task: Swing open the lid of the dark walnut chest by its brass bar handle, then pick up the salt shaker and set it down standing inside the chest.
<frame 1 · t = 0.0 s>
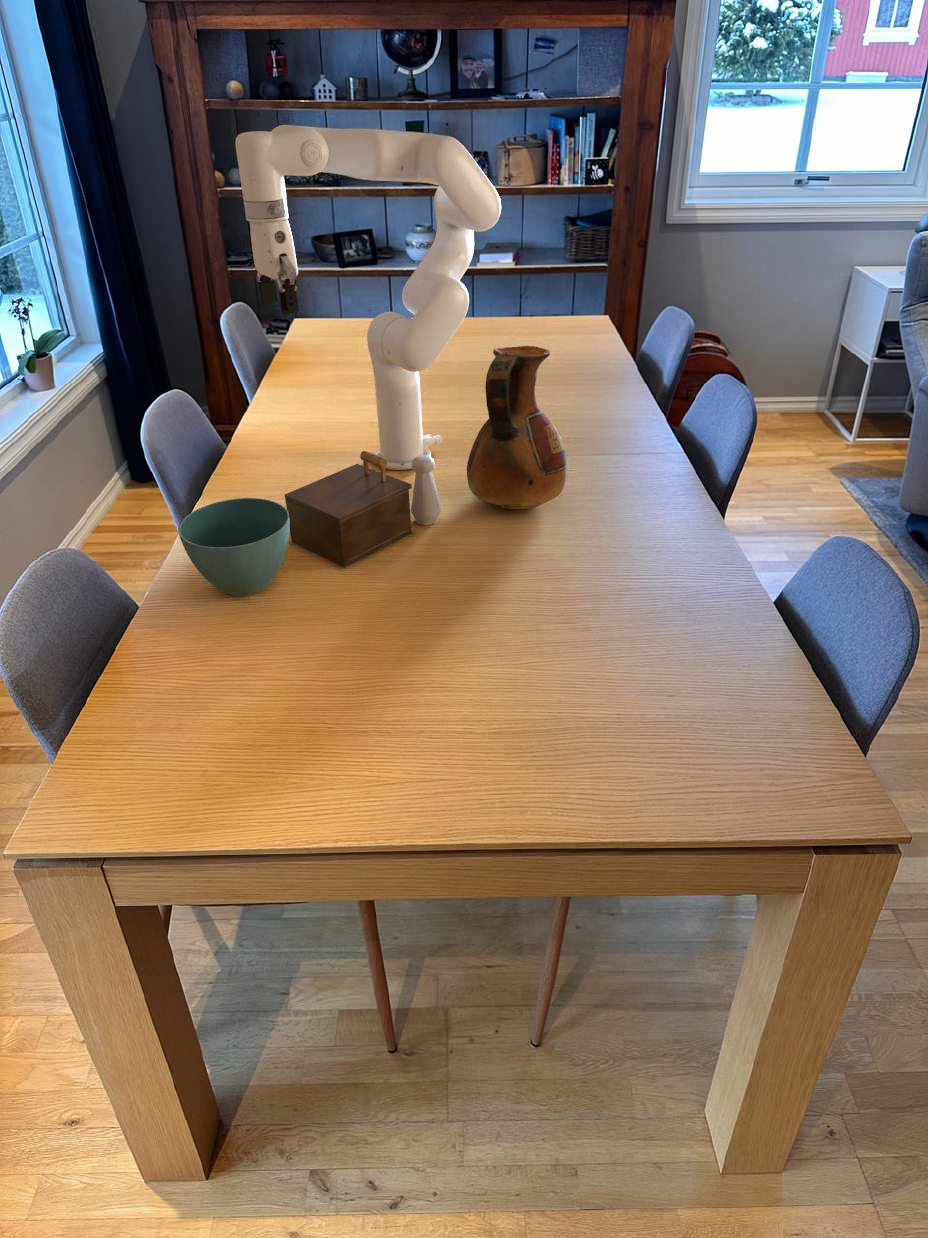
hand: (279, 307, 174), 37 cm above the table, tool pointing down, fingers open, 9 cm apart
chest lid: (347, 479, 168), point 12 cm above the table, hinge at 0.0°
ceramic pitcher: (516, 499, 186), on the table
green bowl: (245, 585, 161), on the table
chest: (351, 537, 174), on the table
salt shaker: (426, 521, 179), on the table
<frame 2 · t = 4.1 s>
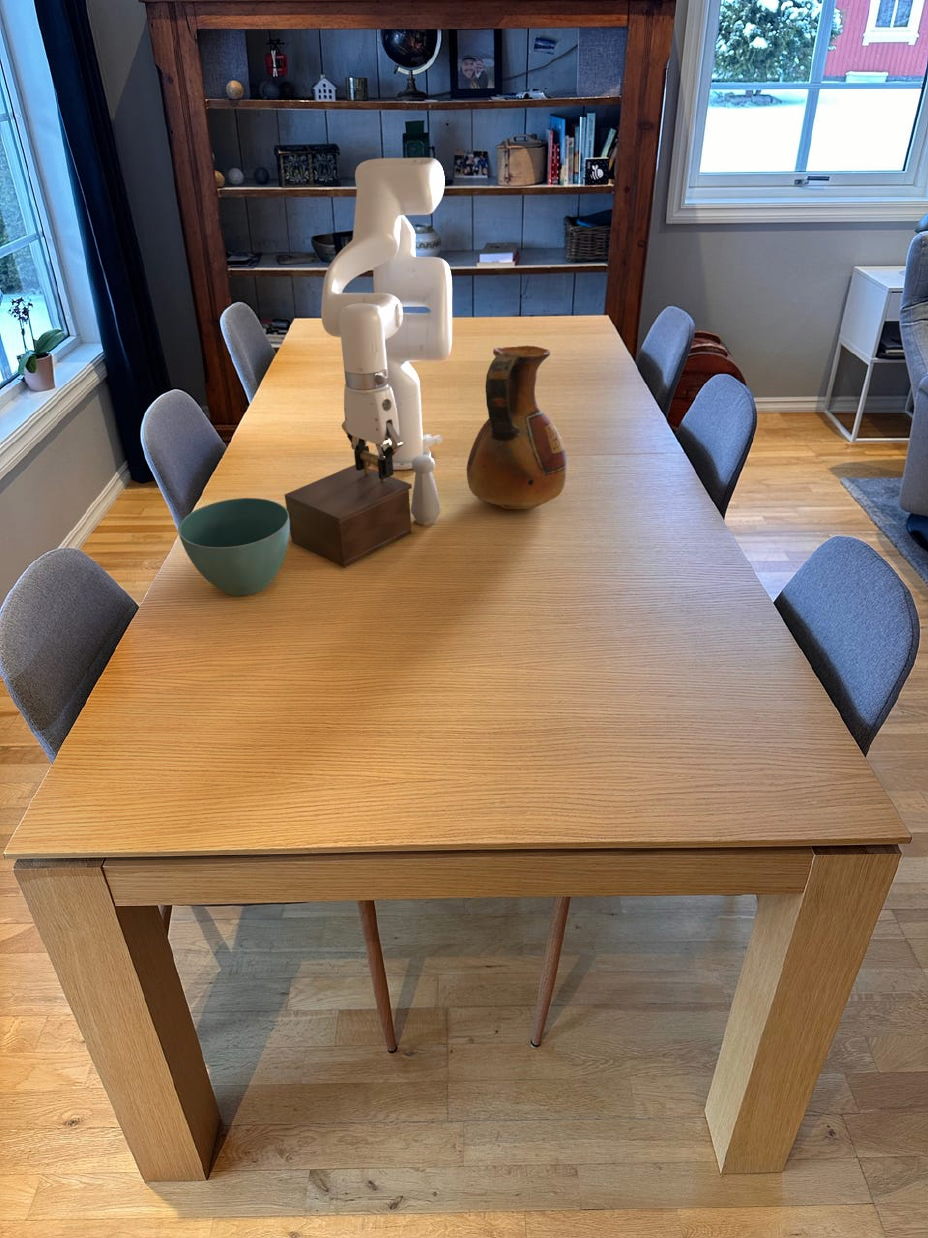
hand: (374, 471, 172), 11 cm above the table, tool pointing down, fingers closed on chest lid, 5 cm apart
chest lid: (347, 479, 168), point 12 cm above the table, hinge at 0.0°, touching gripper
everything else where it was.
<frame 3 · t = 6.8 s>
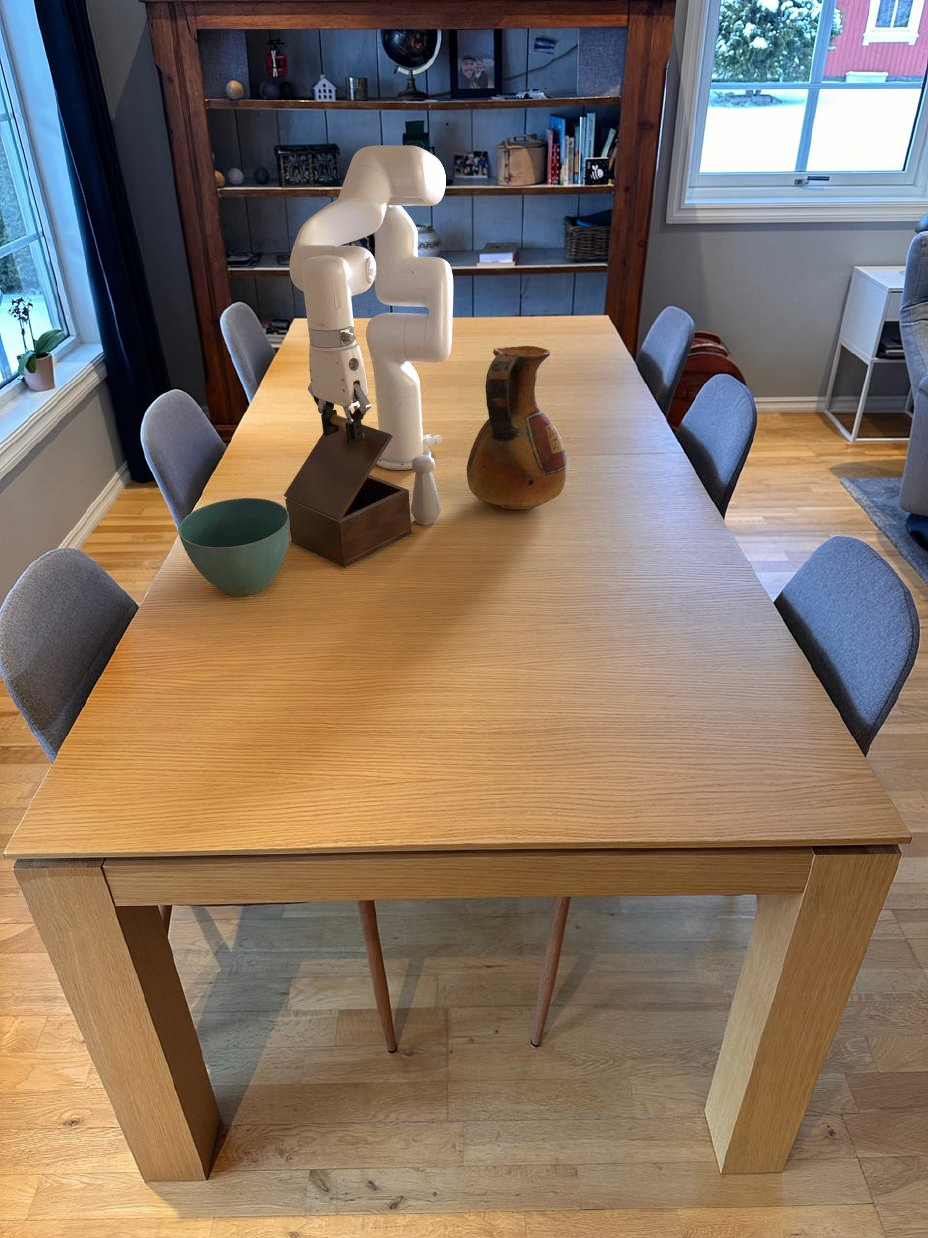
hand: (343, 436, 163), 20 cm above the table, tool pointing down, fingers closed on chest lid, 5 cm apart
chest lid: (330, 459, 163), point 17 cm above the table, hinge at 39.0°, touching gripper
everything else where it was.
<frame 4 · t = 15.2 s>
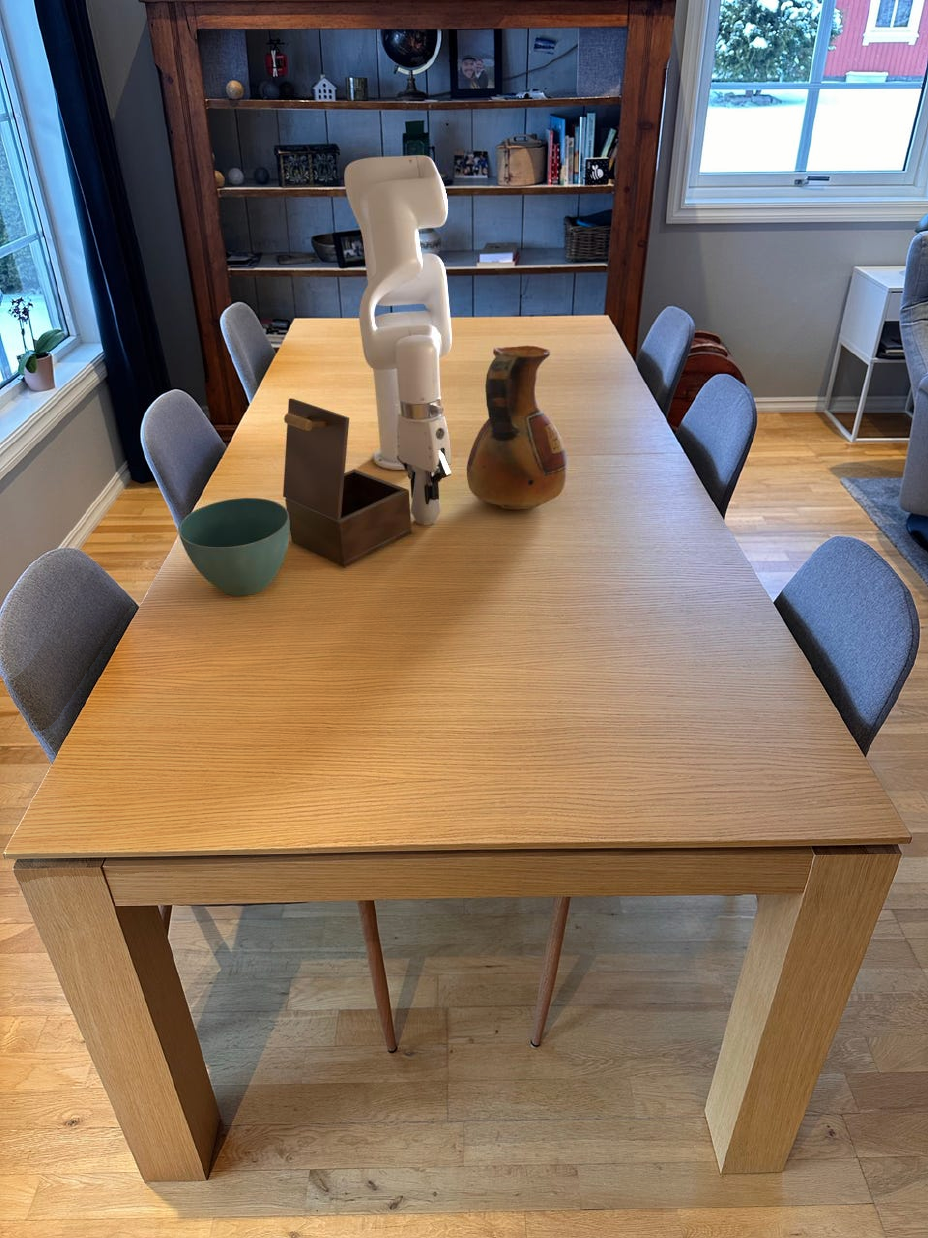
hand: (425, 498, 176), 5 cm above the table, tool pointing down, fingers closed on salt shaker, 3 cm apart
chest lid: (304, 460, 158), point 19 cm above the table, hinge at 76.2°
salt shaker: (426, 521, 179), on the table, touching gripper
everything else where it was.
when the fingers open (6 cm above the table, at t = 21.7 s): salt shaker stays where it is, resting on chest.
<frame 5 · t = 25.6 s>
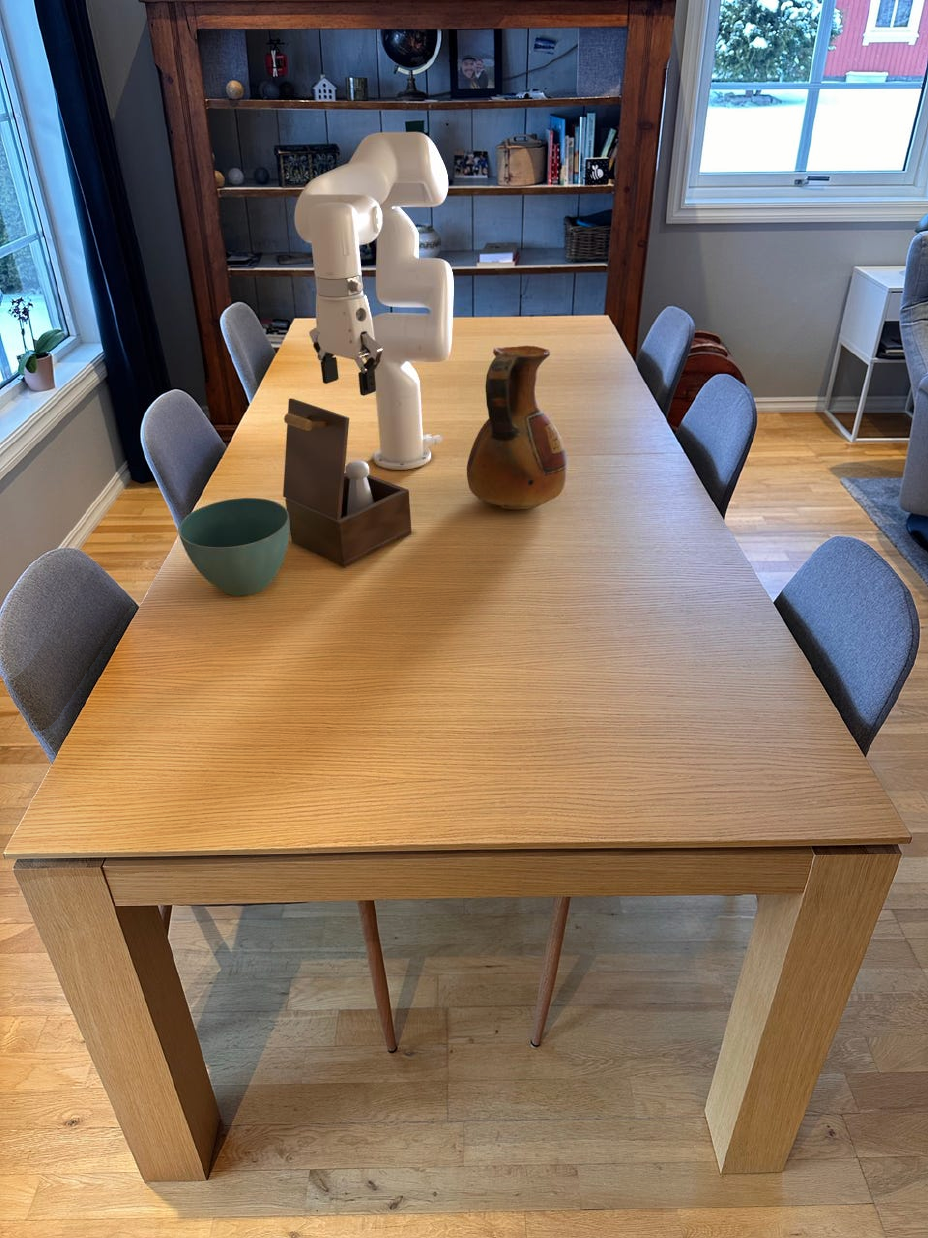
hand: (349, 387, 160), 28 cm above the table, tool pointing down, fingers open, 9 cm apart
salt shaker: (363, 528, 175), point 1 cm above the table, touching chest
everything else where it was.
at the end: chest lid at +76° (first picture: +0°); salt shaker inside the target area in the chest (3.0 cm from its centre), point 0.8 cm above the chest's base; salt shaker tilted 0° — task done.
